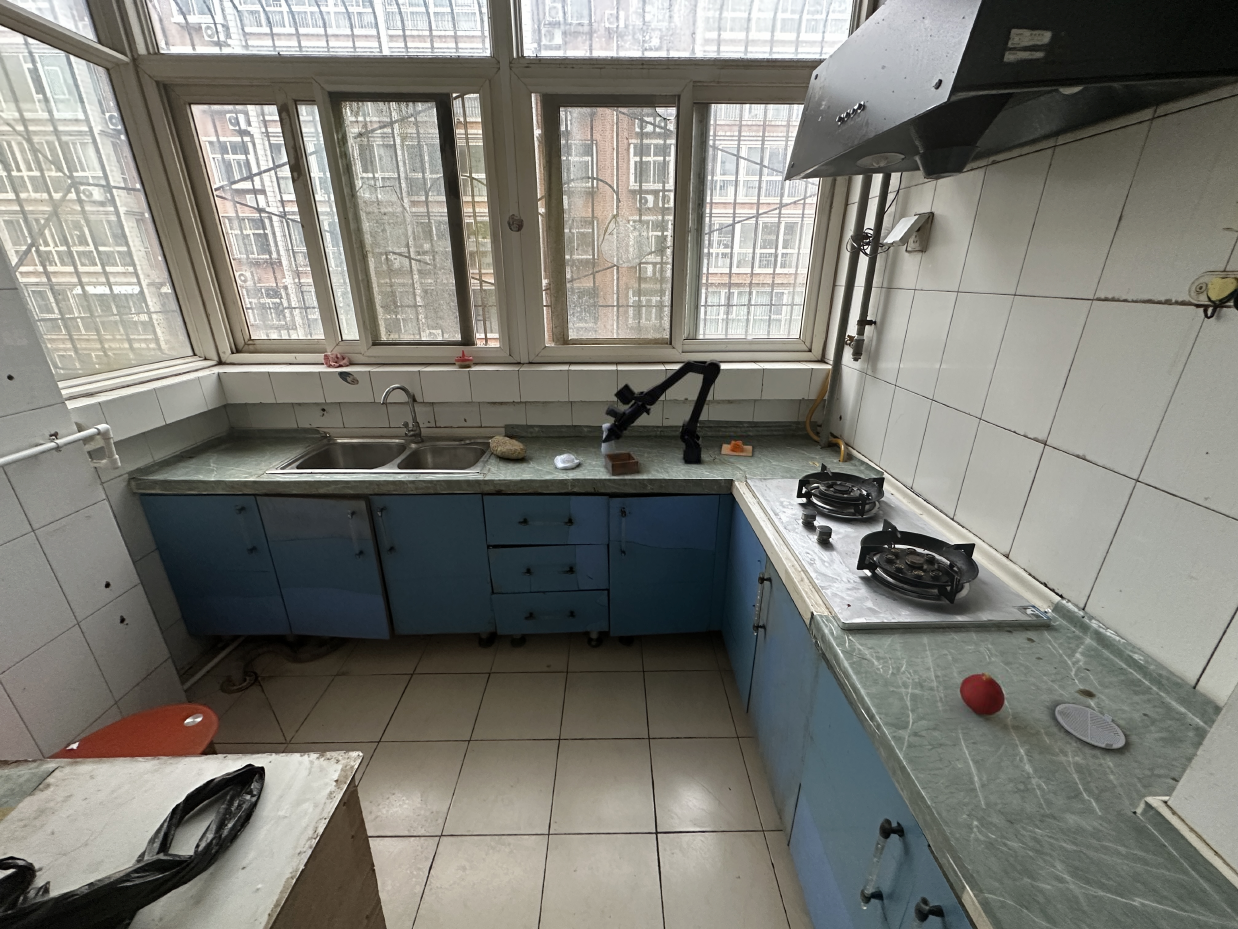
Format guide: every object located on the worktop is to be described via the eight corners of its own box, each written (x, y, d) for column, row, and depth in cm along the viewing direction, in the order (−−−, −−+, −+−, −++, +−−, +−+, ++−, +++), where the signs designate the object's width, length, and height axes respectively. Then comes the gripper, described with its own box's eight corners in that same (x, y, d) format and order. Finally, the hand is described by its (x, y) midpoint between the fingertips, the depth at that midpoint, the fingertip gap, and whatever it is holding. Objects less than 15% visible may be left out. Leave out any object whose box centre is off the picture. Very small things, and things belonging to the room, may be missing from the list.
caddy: (630, 462, 191) (630, 451, 190) (638, 472, 182) (638, 460, 180) (604, 465, 189) (604, 454, 187) (611, 475, 180) (611, 463, 178)
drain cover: (1056, 696, 85) (1058, 692, 84) (1123, 723, 80) (1125, 718, 79) (1053, 728, 79) (1055, 723, 79) (1126, 759, 74) (1128, 754, 73)
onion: (981, 697, 85) (993, 660, 82) (1006, 726, 80) (1020, 687, 77) (947, 698, 85) (958, 661, 82) (971, 727, 79) (983, 688, 77)
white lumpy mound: (550, 451, 191) (574, 448, 194) (551, 462, 192) (574, 458, 196) (558, 460, 182) (583, 456, 186) (559, 471, 184) (583, 467, 188)
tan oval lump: (488, 453, 207) (492, 459, 188) (489, 434, 206) (493, 438, 187) (520, 455, 211) (527, 461, 192) (521, 436, 210) (528, 441, 192)
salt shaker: (616, 453, 202) (616, 422, 197) (615, 458, 196) (614, 426, 192) (602, 452, 202) (601, 422, 198) (600, 457, 197) (599, 426, 192)
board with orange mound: (752, 446, 208) (753, 436, 206) (751, 456, 196) (752, 446, 195) (722, 444, 210) (723, 434, 209) (721, 453, 199) (721, 443, 198)
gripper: (622, 393, 199) (596, 418, 205) (612, 404, 182) (584, 431, 188) (642, 413, 200) (615, 437, 206) (633, 426, 183) (604, 452, 189)
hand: (604, 439), depth 197 cm, fingers open, 7 cm apart
